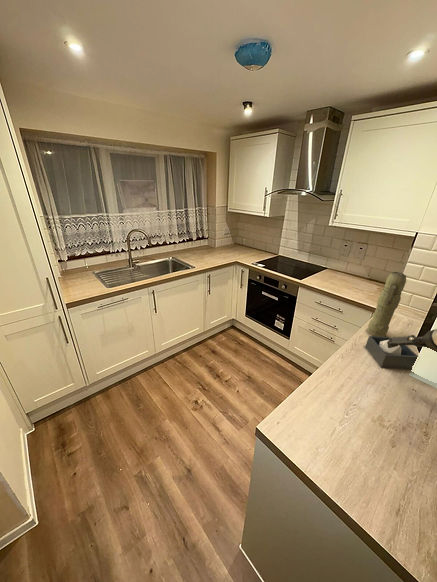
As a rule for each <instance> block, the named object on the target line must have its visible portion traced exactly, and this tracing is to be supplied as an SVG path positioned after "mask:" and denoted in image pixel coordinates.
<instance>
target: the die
mask: <svg viewBox="0 0 437 582" xmlns="http://www.w3.org/2000/svg"><path fill="white" fill-rule="evenodd" d="M387 341H389V340H385V341H380V345H379V346H380V347H381V348H382V349H383V351H384V352H385V353H386V354H391V355H401V349H402V348H401V347H400V346H399V345H398V346H396V347H392V348H388V344H387Z"/></svg>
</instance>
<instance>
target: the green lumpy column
mask: <svg viewBox="0 0 437 582" xmlns="http://www.w3.org/2000/svg"><path fill="white" fill-rule="evenodd" d="M406 284H407V275H406V274H404V273H402V272H398V271H393V272H391V273H390V274H389V275H388V277H387V278H386V281H385V283H384V288H383V289H382V291H381V292H380V293H379V296H378V299H377V301H376V304H377V305H376V307H375V310H374V313H373V315H372V318H371V319H370V320H369V323H368V326H367V330H366V332H367V333H368V334H369V336H379V337H386V335H387V333H388V332H389V330H390V323H391V322H392V319H393V317H394V314H395V311H396V310H397V308H398V307H399V305H400V302H401V301H402V300H401V299H402V297H401V296H402V292H403V290H404V288H405V286H406Z"/></svg>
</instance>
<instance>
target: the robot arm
mask: <svg viewBox="0 0 437 582" xmlns="http://www.w3.org/2000/svg"><path fill="white" fill-rule="evenodd" d="M389 337H390V338H389V341H387V344H388V348H392V347H396V346H398V345H407V346H414V347H416V348H424V347H427V348H430V349H432V350H434V351H436V352H437V328H435V329H432V330H428V331H426V333H425V334H424V335H422V336H415V335H414V334H411V335H402V336H389Z"/></svg>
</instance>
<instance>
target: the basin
mask: <svg viewBox="0 0 437 582" xmlns="http://www.w3.org/2000/svg"><path fill="white" fill-rule="evenodd" d="M390 337H391V336H385V337H379V336H372V335H369V336H368V338H367V341H366V343H365V345H364V348H365V349H366V350H367V352H368V353H369V354H370V355H371V356H372V358H373V359H374V360H375V362H376V363H377V364H378V365H379V367H380V368H389V369H402V370H413V369H412V366H413V365H414V363H415V361H416V359H417V357H419V356H418V355H417V353H415V351H413V350H412V348H411V347H409V345H399V346H400V347H401V348H402V349H401V355H391V354H386V353H385V352H384V351H383V349H382V348H381V347H380V346H379V345H380V341H385V340H389V338H390Z"/></svg>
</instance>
